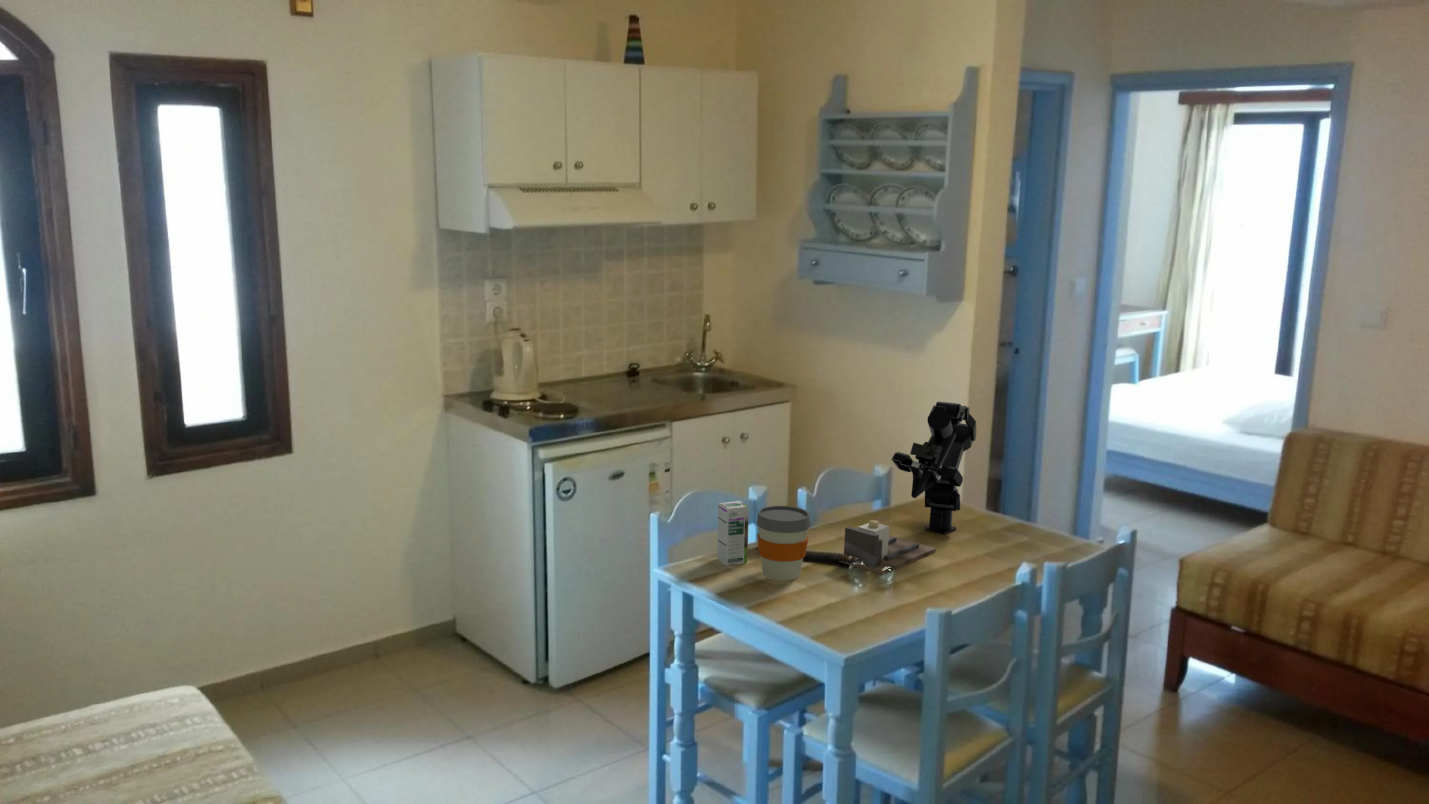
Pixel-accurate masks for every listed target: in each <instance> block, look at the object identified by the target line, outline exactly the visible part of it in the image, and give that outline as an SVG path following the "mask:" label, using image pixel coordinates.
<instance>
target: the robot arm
mask: <svg viewBox="0 0 1429 804" xmlns="http://www.w3.org/2000/svg"><path fill="white" fill-rule="evenodd" d="M970 413H971V412H970V407H969V406H967V405H962V404H961V403H957V402H946V401H937V402H936V403H935V404H934V405H933V406H932V408H931V411H930V413H929V415H928V416H927V420H926V421H927V424H928V428H929V431H930V432H929V433H930V434H931V436H930V437H929V440H928V441H924V443H922V444H920V443H917V442H913V443H912V446H911V448H910V452H909V454H908V453H903V452H901V451H897V452H894V454H893V455H892V457H891V462H893V463H894V465H895V466H896V468H897V469H898V470H900V471H903V472H906V473H912V486H911V498H912V499H913V498H914V499H916V498H918V497H919V496H921V494H923V493H924V508H930V512H929V520H928V522H929V524H928V525H925V526H924V528H923V529H924V530H928V531H931V532H936V533H938V534H942V535H946V534H948V533H951V532H954V531H956V530H957V527H956V526H953V525H952V523H953V512H957V511H960V510H961V495H960V493H959V489H958V487H959V488H960V487H961V486H962V483H963V481H964V477H963V475H962V473H961V472H960V471H959V467H960V465H961V461H962V458H963V454H964V452H965V451H968V450H969V449H971V448H972V446H973V442H975V441H976V438H977V421H976V419H975V418H974V417H973V416H972V415H971V414H970ZM963 421H964V422H965V423H962V422H963ZM911 456H914V458H915V460H916V461H915V460H913V458H912V457H911Z"/></svg>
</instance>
